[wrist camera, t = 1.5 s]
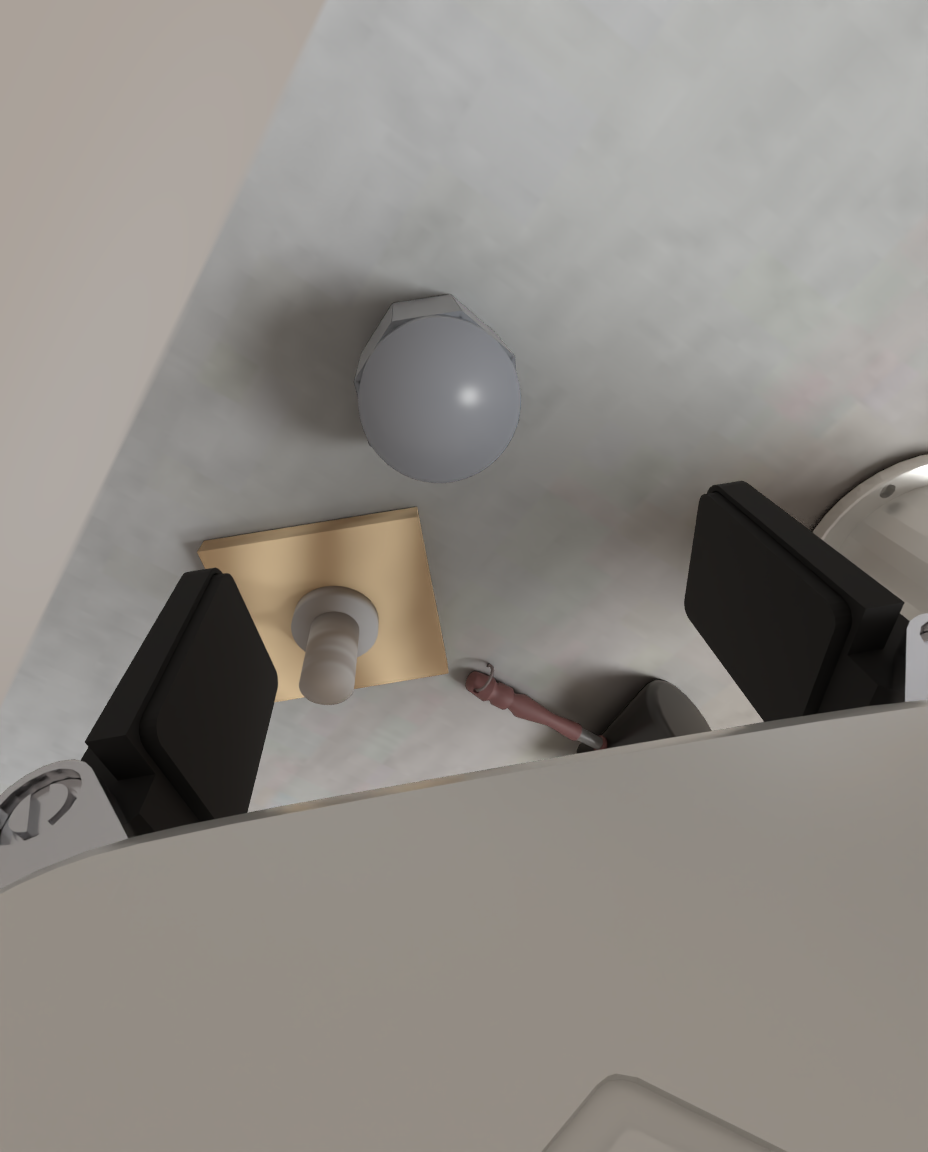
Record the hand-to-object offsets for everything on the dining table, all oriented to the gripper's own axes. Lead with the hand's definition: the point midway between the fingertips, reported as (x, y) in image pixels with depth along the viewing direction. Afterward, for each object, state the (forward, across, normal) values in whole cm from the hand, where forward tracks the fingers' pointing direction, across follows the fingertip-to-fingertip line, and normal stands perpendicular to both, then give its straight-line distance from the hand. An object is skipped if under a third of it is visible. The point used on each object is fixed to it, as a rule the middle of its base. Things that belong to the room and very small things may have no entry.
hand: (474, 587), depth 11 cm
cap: (+18, 0, 0) cm, 18 cm away
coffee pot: (+18, -8, +25) cm, 32 cm away
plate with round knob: (+18, +8, +13) cm, 24 cm away
